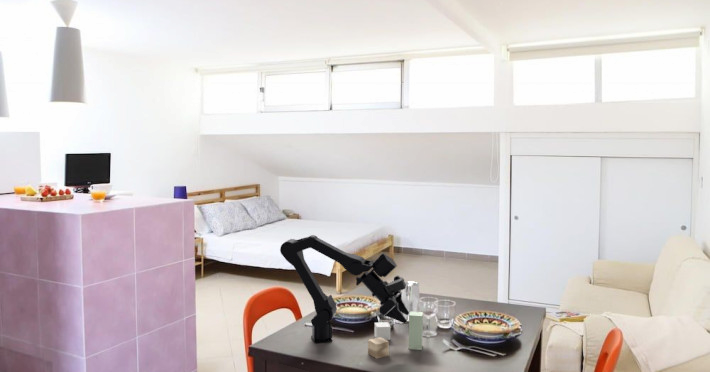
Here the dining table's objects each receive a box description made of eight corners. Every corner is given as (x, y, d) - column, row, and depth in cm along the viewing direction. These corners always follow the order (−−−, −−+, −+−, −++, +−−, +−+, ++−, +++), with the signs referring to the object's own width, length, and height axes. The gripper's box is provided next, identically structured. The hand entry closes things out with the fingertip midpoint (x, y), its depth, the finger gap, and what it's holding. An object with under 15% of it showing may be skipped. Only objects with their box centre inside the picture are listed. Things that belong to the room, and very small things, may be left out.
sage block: (408, 348, 193) (409, 315, 192) (409, 344, 198) (410, 311, 197) (421, 349, 192) (422, 316, 192) (422, 345, 197) (423, 312, 196)
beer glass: (417, 323, 221) (418, 286, 219) (400, 322, 222) (401, 285, 221) (419, 317, 227) (420, 282, 226) (402, 316, 229) (403, 280, 228)
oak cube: (376, 358, 184) (376, 344, 184) (368, 353, 188) (368, 339, 188) (388, 355, 187) (388, 341, 187) (380, 351, 191) (380, 337, 191)
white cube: (376, 340, 201) (376, 327, 201) (374, 335, 206) (374, 322, 206) (390, 340, 202) (390, 326, 202) (387, 335, 207) (387, 322, 206)
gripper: (389, 276, 185) (422, 311, 184) (395, 264, 204) (425, 295, 202) (365, 298, 187) (398, 332, 186) (374, 284, 206) (403, 315, 205)
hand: (407, 318), depth 195 cm, fingers open, 9 cm apart
